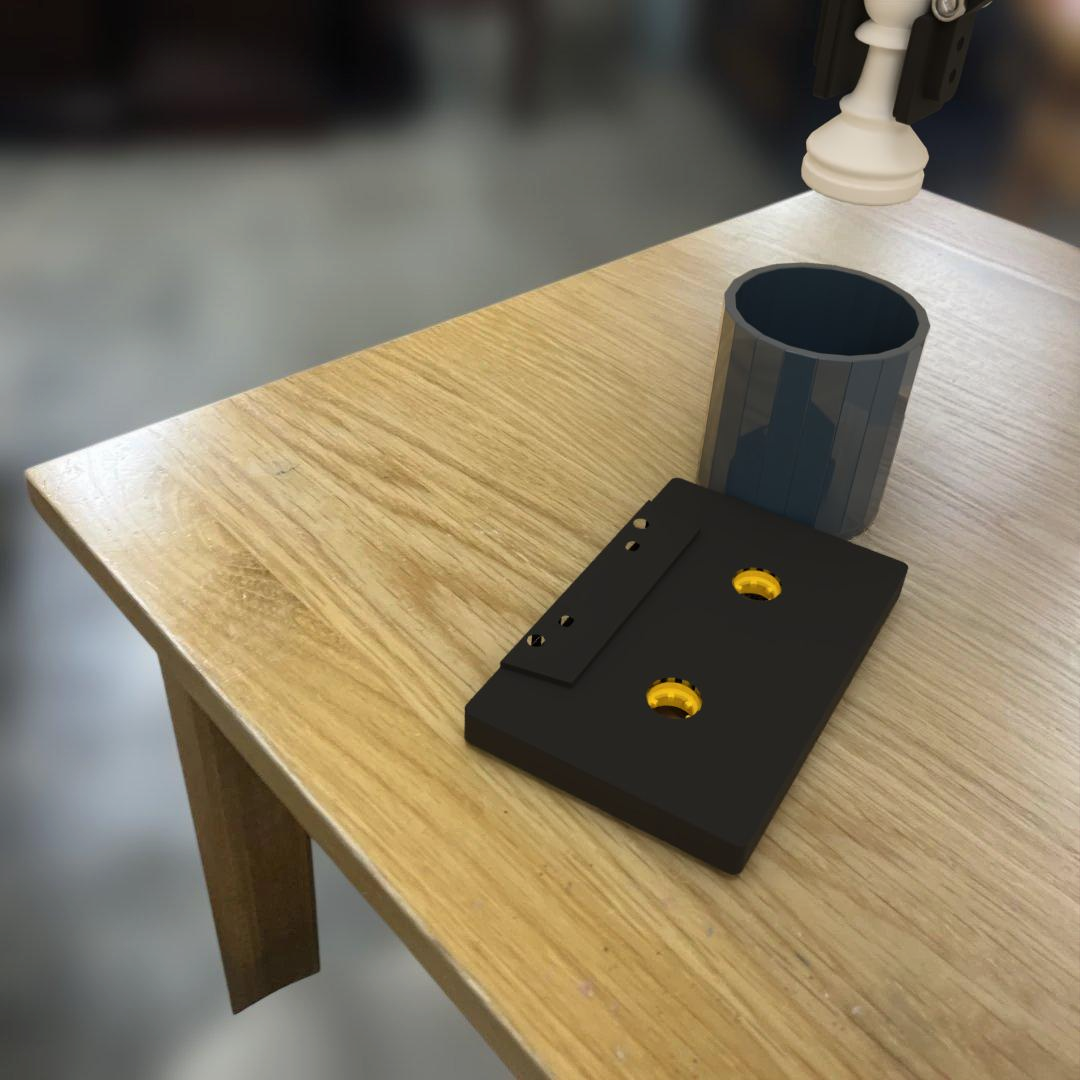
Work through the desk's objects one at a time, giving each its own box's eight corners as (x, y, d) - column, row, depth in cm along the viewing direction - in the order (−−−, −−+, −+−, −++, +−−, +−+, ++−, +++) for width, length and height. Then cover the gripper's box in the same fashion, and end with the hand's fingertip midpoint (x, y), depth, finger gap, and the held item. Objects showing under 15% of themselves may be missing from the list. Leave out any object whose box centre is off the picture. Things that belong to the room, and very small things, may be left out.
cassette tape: (669, 507, 59) (675, 470, 58) (900, 596, 55) (912, 559, 53) (460, 743, 47) (460, 704, 45) (736, 883, 42) (745, 844, 41)
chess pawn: (782, 188, 51) (823, -45, 45) (824, 151, 54) (867, -70, 49) (899, 219, 49) (957, -20, 43) (934, 178, 53) (993, -48, 47)
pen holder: (761, 417, 66) (794, 244, 59) (912, 489, 61) (965, 310, 55) (659, 488, 60) (684, 306, 54) (817, 572, 56) (864, 384, 49)
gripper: (1320, -474, 36) (1109, 137, 48) (841, -491, 44) (760, 35, 56) (1238, -489, 32) (1027, 190, 43) (721, -504, 40) (660, 71, 51)
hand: (878, 98), depth 49 cm, fingers closed on chess pawn, 3 cm apart
